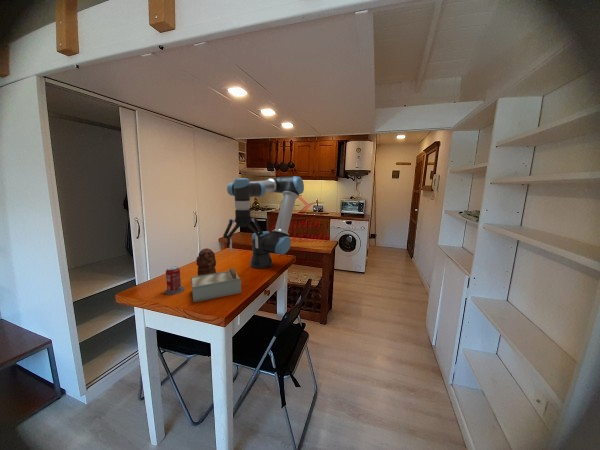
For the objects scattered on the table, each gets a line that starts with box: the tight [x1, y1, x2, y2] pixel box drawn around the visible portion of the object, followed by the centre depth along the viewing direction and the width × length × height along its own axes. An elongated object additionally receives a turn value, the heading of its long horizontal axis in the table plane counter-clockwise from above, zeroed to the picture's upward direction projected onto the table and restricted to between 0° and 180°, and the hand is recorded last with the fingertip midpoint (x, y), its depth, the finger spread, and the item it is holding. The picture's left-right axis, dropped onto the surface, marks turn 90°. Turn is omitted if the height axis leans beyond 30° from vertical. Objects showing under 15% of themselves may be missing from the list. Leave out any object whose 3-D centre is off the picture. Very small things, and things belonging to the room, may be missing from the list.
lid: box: [191, 267, 240, 287], centre depth 112 cm, size 21×11×3 cm, turn 118°
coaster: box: [164, 285, 185, 296], centre depth 114 cm, size 9×9×1 cm
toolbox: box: [190, 269, 242, 303], centre depth 113 cm, size 22×13×8 cm, turn 118°
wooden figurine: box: [195, 247, 217, 276], centre depth 128 cm, size 12×6×18 cm, turn 167°
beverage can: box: [165, 265, 182, 292], centre depth 113 cm, size 6×6×12 cm
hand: (244, 249), depth 117 cm, fingers open, 13 cm apart
